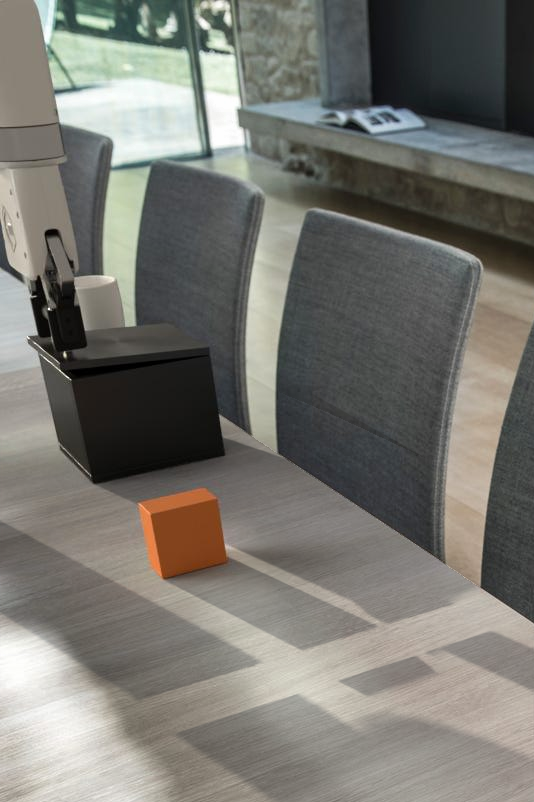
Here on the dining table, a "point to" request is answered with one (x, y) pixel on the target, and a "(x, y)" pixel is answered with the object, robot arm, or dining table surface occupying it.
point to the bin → (135, 415)
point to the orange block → (183, 532)
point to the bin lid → (121, 346)
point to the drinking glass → (99, 302)
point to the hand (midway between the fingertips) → (62, 340)
